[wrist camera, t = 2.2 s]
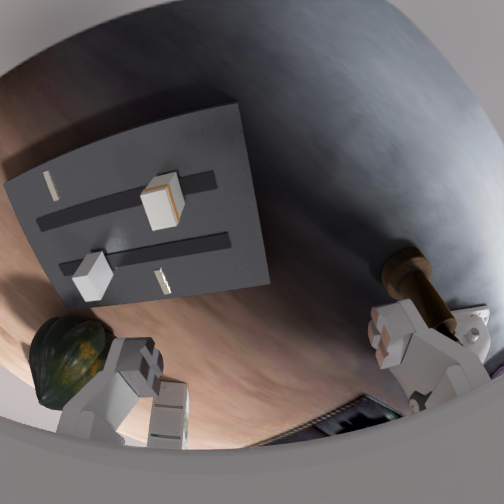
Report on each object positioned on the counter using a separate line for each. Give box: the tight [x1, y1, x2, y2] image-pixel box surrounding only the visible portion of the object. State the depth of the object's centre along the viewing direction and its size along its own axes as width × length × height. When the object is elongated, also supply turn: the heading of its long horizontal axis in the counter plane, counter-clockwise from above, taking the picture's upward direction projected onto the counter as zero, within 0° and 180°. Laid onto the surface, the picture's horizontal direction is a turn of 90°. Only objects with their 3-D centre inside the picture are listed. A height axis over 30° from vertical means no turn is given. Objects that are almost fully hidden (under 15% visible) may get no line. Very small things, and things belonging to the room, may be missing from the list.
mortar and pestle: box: [381, 248, 461, 345], centre depth 27 cm, size 7×6×18 cm
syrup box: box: [147, 381, 190, 449], centre depth 42 cm, size 6×6×14 cm
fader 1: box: [72, 251, 113, 302], centre depth 27 cm, size 2×3×4 cm, turn 10°
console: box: [3, 101, 270, 310], centre depth 28 cm, size 26×18×3 cm
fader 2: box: [140, 172, 185, 231], centre depth 23 cm, size 2×3×4 cm
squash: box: [29, 315, 117, 411], centre depth 34 cm, size 14×15×15 cm
